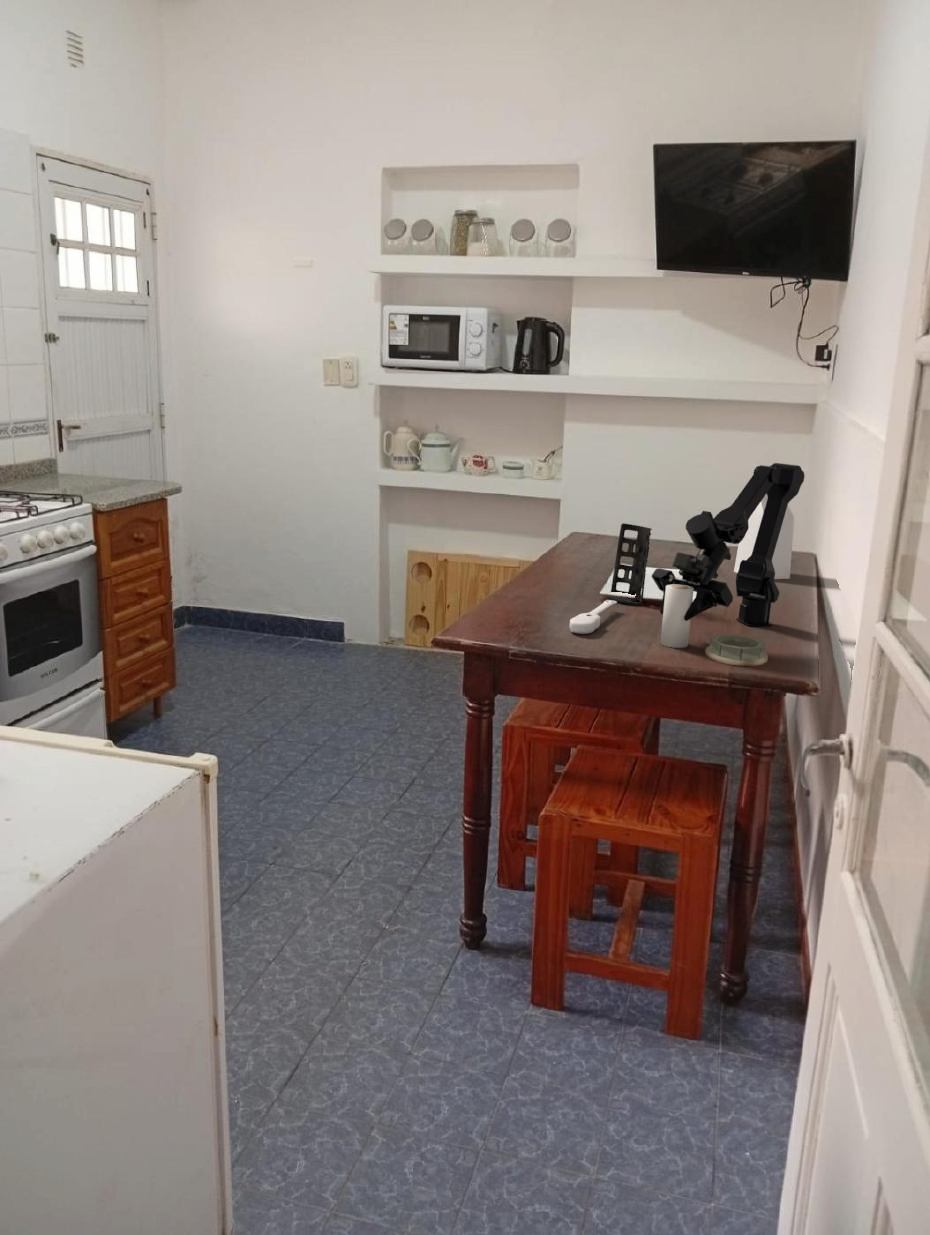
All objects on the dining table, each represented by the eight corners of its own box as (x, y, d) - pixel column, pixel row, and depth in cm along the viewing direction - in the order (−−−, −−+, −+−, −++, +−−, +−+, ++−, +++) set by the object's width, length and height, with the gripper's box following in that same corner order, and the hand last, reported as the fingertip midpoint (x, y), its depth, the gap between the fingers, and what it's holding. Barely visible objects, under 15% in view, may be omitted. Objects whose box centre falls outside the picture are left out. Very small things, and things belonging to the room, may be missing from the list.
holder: (600, 598, 261) (612, 522, 257) (616, 596, 266) (628, 523, 262) (636, 606, 253) (648, 529, 250) (652, 605, 259) (664, 529, 255)
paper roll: (679, 640, 225) (685, 583, 221) (692, 647, 219) (698, 589, 216) (655, 640, 223) (661, 584, 220) (668, 648, 218) (673, 590, 214)
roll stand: (746, 647, 221) (748, 632, 220) (779, 664, 209) (781, 648, 208) (694, 649, 218) (695, 634, 217) (724, 667, 206) (726, 651, 205)
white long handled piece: (600, 609, 250) (601, 598, 250) (622, 612, 248) (623, 601, 248) (564, 633, 226) (565, 621, 225) (588, 637, 223) (589, 625, 223)
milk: (766, 570, 309) (777, 487, 302) (789, 578, 298) (800, 492, 292) (733, 571, 305) (743, 487, 299) (755, 579, 295) (766, 492, 288)
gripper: (660, 533, 224) (625, 586, 220) (731, 546, 211) (696, 603, 207) (677, 563, 232) (644, 615, 227) (747, 578, 219) (713, 634, 214)
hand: (673, 616), depth 219 cm, fingers closed on paper roll, 6 cm apart
